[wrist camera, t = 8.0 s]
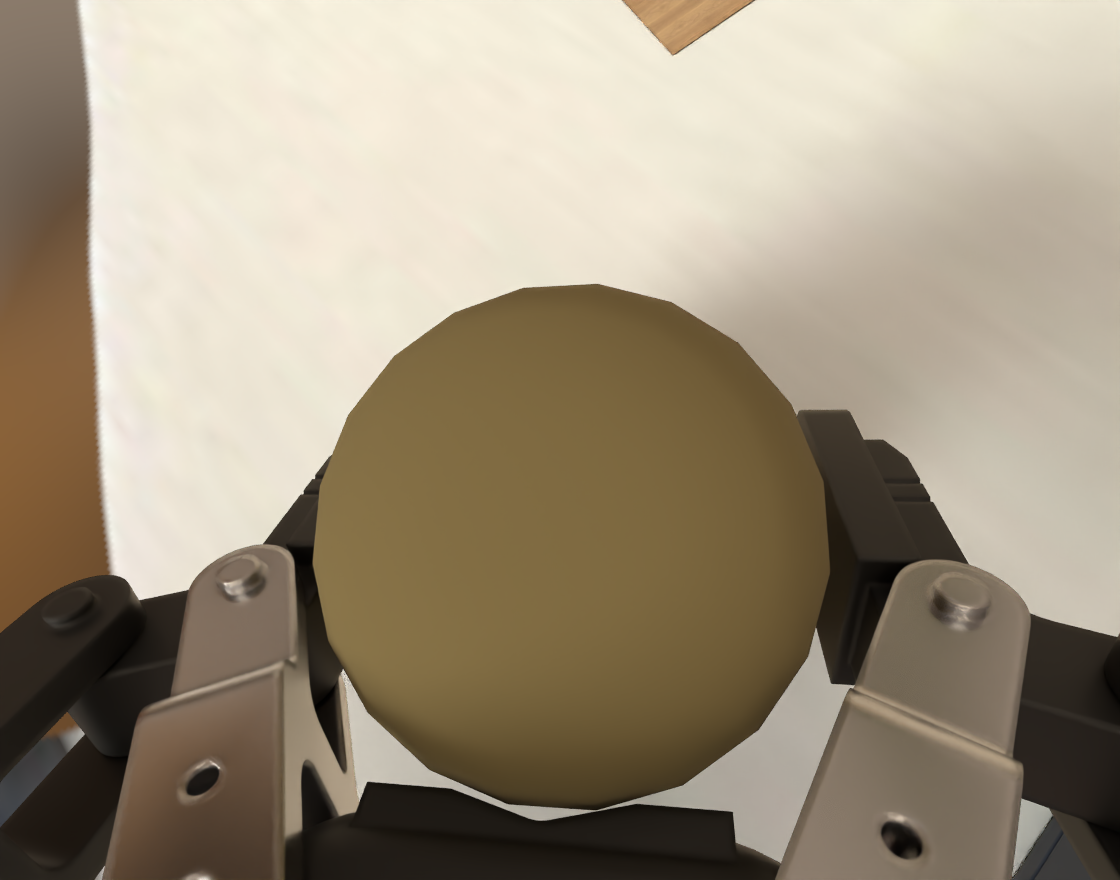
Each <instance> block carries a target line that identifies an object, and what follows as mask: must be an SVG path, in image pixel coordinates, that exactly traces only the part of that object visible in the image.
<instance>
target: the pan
mask: <svg viewBox="0 0 1120 880" xmlns="http://www.w3.org/2000/svg"><path fill="white" fill-rule="evenodd" d="M1013 880H1092V879H1091V877H1090V876H1089V874H1088V872H1087V871H1086V869H1085V867H1084V866H1083V864H1082V862H1081V861H1080V859H1079V857H1078V856H1077V854H1076V852H1075V851H1074V849H1073V847H1072V846H1071V844H1070V842H1069V841H1068V839H1067V837H1066V836H1065V834H1064V832H1063V831H1062V829H1061V827H1060V826H1059V824H1058V822H1057V821H1056V819H1055V817H1054V816H1053V818H1052V820H1051V821H1050V823H1049V824H1048V826H1047V827H1046V829H1045V830H1044V832H1043V833H1042V835H1041V837H1040V838H1039V840H1038V841H1037V843H1036V844H1035V846H1034V847H1033V849H1032V851H1031V852H1030V854H1029V855H1028V857H1027V858H1026V860H1025V861H1024V863H1023V865H1022V866H1021V868H1020V869H1019V871H1018V872H1017V874H1016V875H1015V877H1014V878H1013Z"/></svg>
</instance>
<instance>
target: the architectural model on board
mask: <svg viewBox="0 0 1120 880" xmlns="http://www.w3.org/2000/svg"><path fill="white" fill-rule="evenodd" d="M623 1H624V2H625V3H626V4H627V5H628V6H629V7H630V9H631V10H632V11H633V12H634V13H635V14H636V15H637V16H638V17H639V18H640V19H641V21H642V22H643V23H644V24H645V25H646V26H647V27H648V28H649V29H650V30H651V32H652V33H653V34H654V35H655V36H656V37H657V38H658V39H659V40H660V41H661V42H662V44H663V45H664V46H665V47H666V48H667V49H668V50H669V51H670V52H671V53H672V54H673V55H674V54H675V53H677V52H678V51H679V50H681V49H682V48H684V47H685V46H687V45H688V44H690V43H691V42H693V41H694V40H696V39H697V38H699V37H700V36H701V35H703V34H704V33H706V32H707V31H709V30H710V29H712V28H713V27H715V26H716V25H718V24H719V23H721V22H722V21H724V20H725V19H726V18H728V17H729V16H731V15H732V14H734V13H735V12H737V11H738V10H740V9H741V8H743V7H744V6H746V5H747V4H748V3H750V2H751V1H753V0H623Z"/></svg>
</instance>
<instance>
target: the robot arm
mask: <svg viewBox="0 0 1120 880" xmlns="http://www.w3.org/2000/svg"><path fill="white" fill-rule="evenodd" d="M797 419H798V422H799V424H800V426H801V429H802V431H803V434H804V436H805V438H806V441H807V443H808V446H809V448H810V450H811V453H812V455H813V457H814V460H815V462H816V465H817V467H818V469H819V472H820V474H821V477H822V479H823V481H824V493H825V506H826V520H827V533H828V547H829V560H830V575H829V579H828V582H827V586H826V590H825V594H824V598H823V601H822V605H821V609H820V613H819V617H818V621H817V624H816V628H817V632H818V636H819V639H820V643H821V647H822V651H823V655H824V658H825V662H826V666H827V670H828V674H829V678H830V681H831V684H845V685H855V686H854V688H853V689H852V688H850V689H849V690H848V692H847V694H846V697H845V699H844V701H843V704H842V706H841V709H840V711H839V714H838V717H837V719H836V722H835V724H834V727H833V730H832V732H831V735H830V737H829V740H828V743H827V745H826V748H825V750H824V753H823V756H822V758H821V761H820V763H819V766H818V769H817V771H816V774H815V776H814V779H813V782H812V784H811V787H810V789H809V792H808V795H807V797H806V800H805V802H804V805H803V808H802V810H801V813H800V815H799V818H798V821H797V823H796V826H795V828H794V831H793V834H792V836H791V839H790V841H789V844H788V847H787V849H786V852H785V854H784V857H783V860H782V862H781V864H780V863H779V862H777V861H775V860H773V859H771V858H769V857H767V856H765V855H763V854H762V853H760V852H758V851H756V850H754V849H751V848H748V847H746V846H743V845H740V844H738V843H736V842H735V831H734V820H733V812H729V811H717V810H704V809H692V808H680V807H668V806H656V805H643V804H634V805H629V806H623V807H618V808H612V809H607V810H602V811H596V812H591V813H585V814H580V815H575V816H569V817H564V818H558V819H553V820H547V821H536V820H532V819H528V818H526V817H523V816H520V815H518V814H515V813H513V812H510V811H508V810H505V809H502V808H500V807H497V806H495V805H492V804H489V803H487V802H484V801H482V800H479V799H476V798H474V797H471V796H469V795H466V794H464V793H461V792H458V791H456V790H453V789H448V788H436V787H424V786H412V785H399V784H387V783H375V782H367V784H366V787H365V789H364V792H363V794H362V797H361V800H360V802H359V799H358V794H357V788H356V780H355V771H354V761H353V752H352V743H351V734H350V724H349V715H348V706H347V697H346V688H345V684H344V681H343V678H342V676H341V672H342V670H343V667H342V665H341V663H340V661H339V660H338V658H337V656H336V654H335V652H334V651H333V649H332V647H331V645H330V643H329V641H328V637H327V632H326V627H325V622H324V617H323V612H322V607H321V602H320V597H319V592H318V587H317V582H316V577H315V572H314V567H313V554H314V543H315V533H316V523H317V512H318V502H319V491H320V485H321V482H322V480H323V477H324V475H325V472H326V470H327V467H328V465H329V462H330V460H331V457H332V455H331V456H330V457H329V458H328V459H327V461H326V462H325V463H324V465H323V466H322V467H321V468H320V470H319V471H318V472H317V474H316V475H315V479H312V480H311V482H310V483H309V484H308V486H307V487H306V488H305V490H304V494H303V495H300V496H299V497H298V499H297V500H296V501H295V503H294V504H293V505H292V507H291V508H290V509H289V511H288V512H287V513H286V515H285V516H284V517H283V518H282V520H281V521H280V522H279V524H278V525H277V526H276V528H275V529H274V530H273V532H272V533H271V534H270V536H269V537H268V538H267V540H266V541H265V542H264V543H263V545H254V546H249V547H245V548H242V549H239V550H236V551H233V552H231V553H229V554H226V555H225V556H223V557H221V558H219V559H217V560H216V561H214V562H213V563H211V564H210V565H209V566H207V567H206V568H205V569H204V570H203V571H202V572H201V573H200V574H199V575H198V576H197V577H196V578H195V580H194V581H193V583H192V584H191V586H190V588H189V590H187V591H182V592H177V593H172V594H168V595H163V596H158V597H153V598H149V599H144V600H138V598H137V596H136V595H135V593H134V591H133V590H132V588H131V586H130V585H129V583H128V582H127V581H126V580H125V579H123V578H121V577H119V576H114V575H101V576H95V577H90V578H86V579H82V580H79V581H76V582H73V583H71V584H68V585H66V586H64V587H62V588H60V589H58V590H56V591H54V592H52V593H51V594H49V595H48V596H46V597H44V598H43V599H41V600H40V601H39V602H37V603H36V604H35V605H33V606H32V607H31V608H30V609H29V610H27V611H26V612H25V613H24V614H23V615H21V616H20V617H19V618H18V619H17V620H15V621H14V622H13V623H12V624H11V625H9V626H8V627H7V628H6V629H5V630H3V631H2V632H1V633H0V782H1V781H2V779H3V778H4V777H5V776H6V775H7V774H8V773H9V772H10V770H11V769H12V768H13V767H14V766H15V765H16V764H17V763H18V762H19V761H20V760H21V759H22V758H23V757H24V756H25V755H26V754H27V753H28V752H29V751H30V750H31V749H32V748H33V747H34V746H35V744H36V743H37V742H38V741H39V740H40V739H41V738H42V737H43V736H44V735H45V734H46V733H47V732H48V731H49V730H50V729H51V728H52V727H53V726H54V725H55V724H56V723H57V722H58V721H59V719H61V717H62V716H63V715H64V714H65V713H66V712H68V713H69V714H70V715H71V717H72V718H73V719H74V721H75V722H76V723H77V724H78V726H79V727H80V728H81V729H82V731H83V732H84V733H85V735H84V736H83V737H82V738H81V739H80V740H79V741H78V742H77V744H76V745H75V746H74V747H73V748H72V749H71V750H70V751H69V752H68V754H67V755H66V756H65V757H64V758H63V759H62V760H61V761H60V762H59V763H58V765H57V766H56V767H55V768H54V769H53V770H52V771H51V772H50V773H49V774H48V776H47V777H46V778H45V779H44V780H43V781H42V782H41V783H40V784H39V785H38V787H37V788H36V789H35V790H34V791H33V792H32V793H31V794H30V795H29V796H28V798H27V799H26V800H25V801H24V802H23V803H22V804H21V805H20V806H19V807H18V809H17V810H16V811H15V812H14V813H13V814H12V815H11V816H10V817H9V819H8V820H7V821H6V822H5V823H4V824H3V825H2V826H1V827H0V880H94V879H95V878H96V877H97V875H98V874H99V873H100V871H101V870H102V869H103V867H104V866H105V868H104V873H103V878H102V880H1011V879H1012V871H1013V863H1014V854H1015V846H1016V838H1017V830H1018V822H1019V814H1020V805H1021V798H1022V799H1025V800H1028V801H1031V802H1034V803H1037V804H1039V805H1042V806H1045V807H1048V808H1049V809H1050V811H1051V812H1052V814H1053V816H1054V817H1055V819H1056V821H1057V822H1058V824H1059V826H1060V827H1061V829H1062V831H1063V832H1064V834H1065V836H1066V837H1067V839H1068V841H1069V842H1070V844H1071V846H1072V847H1073V849H1074V851H1075V852H1076V854H1077V856H1078V857H1079V859H1080V861H1081V862H1082V864H1083V866H1084V867H1085V869H1086V871H1087V872H1088V874H1089V876H1090V877H1091V879H1092V880H1120V634H1119V636H1118V637H1114V636H1110V635H1106V634H1102V633H1098V632H1094V631H1090V630H1086V629H1082V628H1078V627H1074V626H1070V625H1066V624H1062V623H1058V622H1054V621H1051V620H1047V619H1044V618H1041V617H1038V616H1035V615H1033V614H1030V613H1029V610H1028V608H1027V606H1026V604H1025V602H1024V601H1023V599H1022V598H1021V597H1020V596H1019V595H1018V593H1017V592H1016V591H1014V590H1013V589H1012V588H1011V587H1010V586H1009V585H1008V584H1006V583H1005V582H1003V581H1002V580H1001V579H999V578H997V577H996V576H994V575H992V574H990V573H988V572H986V571H984V570H982V569H980V568H977V567H974V566H971V565H969V564H968V562H967V560H966V559H965V557H964V555H963V553H962V552H961V550H960V548H959V546H958V545H957V543H956V541H955V539H954V538H953V536H952V534H951V532H950V531H949V529H948V527H947V526H946V524H945V522H944V520H943V519H942V517H941V515H940V513H939V512H938V510H937V508H936V506H935V505H934V503H933V502H930V496H929V494H928V492H927V491H926V489H925V487H924V485H923V484H920V479H919V477H918V475H917V473H916V472H915V470H914V468H913V466H912V465H911V463H910V461H909V459H908V458H907V457H906V456H904V455H903V454H902V453H900V452H899V451H898V450H896V449H895V448H894V447H892V446H891V445H890V444H888V443H887V442H886V441H884V440H864V439H863V437H862V435H861V433H860V431H859V429H858V427H857V425H856V423H855V421H854V419H853V417H852V415H851V413H850V412H849V411H848V410H800V411H799V412H798V414H797Z"/></svg>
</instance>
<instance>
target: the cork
mask: <svg viewBox="0 0 1120 880" xmlns="http://www.w3.org/2000/svg"><path fill="white" fill-rule="evenodd" d="M313 567H314V572H315V577H316V582H317V587H318V592H319V597H320V602H321V607H322V612H323V617H324V622H325V627H326V632H327V637H328V641H329V643H330V645H331V647H332V649H333V651H334V652H335V654H336V656H337V658H338V660H339V661H340V663H341V665H342V667H343V669H344V670H345V672H346V674H347V676H348V678H349V680H350V681H351V683H352V685H353V687H354V689H355V690H356V692H357V694H358V696H359V698H360V699H361V701H362V703H363V705H364V707H365V709H366V710H367V712H368V713H369V714H370V715H371V716H372V717H373V718H374V719H375V720H376V721H377V722H378V723H379V724H381V725H382V726H383V727H384V728H385V729H386V730H387V731H388V732H389V733H390V734H391V735H392V736H393V737H395V738H396V739H397V740H398V741H399V742H400V743H401V744H402V745H403V746H404V747H405V748H406V749H408V750H409V751H410V752H411V753H412V754H413V755H414V756H415V757H416V758H417V759H418V760H419V761H420V762H422V763H423V764H424V765H425V766H426V767H427V768H428V769H429V770H431V771H433V772H436V773H438V774H440V775H443V776H445V777H447V778H449V779H452V780H454V781H456V782H459V783H461V784H463V785H465V786H468V787H470V788H472V789H474V790H477V791H479V792H481V793H484V794H486V795H488V796H490V797H493V798H495V799H497V800H500V801H502V802H504V803H506V804H511V805H526V806H540V807H555V808H570V809H584V810H599V809H603V808H606V807H609V806H613V805H616V804H620V803H623V802H627V801H630V800H634V799H637V798H641V797H644V796H647V795H651V794H654V793H658V792H661V791H665V790H668V789H672V788H675V787H679V786H682V785H684V784H685V783H687V782H688V781H689V780H691V779H692V778H693V777H695V776H696V775H697V774H699V773H700V772H702V771H703V770H704V769H706V768H707V767H708V766H710V765H711V764H712V763H714V762H715V761H717V760H718V759H719V758H721V757H722V756H723V755H725V754H726V753H728V752H729V751H730V750H732V749H733V748H734V747H736V746H737V745H738V744H740V743H741V742H743V741H744V740H745V739H747V738H748V737H749V736H751V735H752V734H753V733H755V732H756V731H758V730H759V728H760V727H761V726H762V724H763V723H764V721H765V720H766V718H767V717H768V715H769V714H770V712H771V711H772V709H773V708H774V706H775V705H776V703H777V702H778V700H779V699H780V697H781V696H782V694H783V693H784V691H785V690H786V689H787V687H788V686H789V684H790V683H791V681H792V680H793V678H794V677H795V675H796V674H797V672H798V671H799V669H800V668H801V666H802V665H803V663H804V662H805V660H806V659H807V657H808V655H809V651H810V647H811V643H812V640H813V636H814V632H815V628H816V624H817V621H818V617H819V613H820V609H821V605H822V601H823V598H824V594H825V590H826V586H827V582H828V579H829V575H830V560H829V547H828V533H827V520H826V506H825V493H824V481H823V479H822V477H821V474H820V472H819V469H818V467H817V465H816V462H815V460H814V457H813V455H812V453H811V450H810V448H809V446H808V443H807V441H806V438H805V436H804V434H803V431H802V429H801V426H800V424H799V422H798V419H797V417H796V414H795V412H794V410H793V407H792V405H791V403H790V402H789V401H788V400H787V399H786V398H785V396H784V395H783V394H782V393H781V392H780V391H779V389H778V388H777V387H776V386H775V385H774V384H773V383H772V381H771V380H770V379H769V378H768V377H767V376H766V374H765V373H764V372H763V371H762V370H761V369H760V368H759V366H758V365H757V364H756V363H755V362H754V361H753V359H752V358H751V357H750V356H749V355H748V354H747V353H746V351H745V350H744V349H743V348H742V347H741V346H740V344H739V343H738V342H736V341H734V340H733V339H731V338H729V337H728V336H726V335H724V334H723V333H721V332H720V331H718V330H716V329H715V328H713V327H711V326H710V325H708V324H706V323H705V322H703V321H701V320H700V319H698V318H696V317H695V316H693V315H692V314H690V313H688V312H687V311H685V310H683V309H682V308H680V307H678V306H677V305H675V304H673V303H672V302H669V301H665V300H660V299H656V298H652V297H648V296H644V295H640V294H636V293H632V292H628V291H624V290H620V289H616V288H612V287H608V286H604V285H600V284H588V285H569V286H551V287H533V288H522V289H519V290H516V291H514V292H511V293H508V294H505V295H502V296H500V297H497V298H494V299H491V300H488V301H486V302H483V303H480V304H477V305H474V306H472V307H469V308H466V309H463V310H461V311H458V312H455V313H453V314H452V315H450V316H449V317H448V318H446V319H445V320H443V321H442V322H441V323H439V324H438V325H437V326H435V327H434V328H432V329H431V330H430V331H428V332H427V333H425V334H424V335H423V336H421V337H420V338H419V339H417V340H416V341H414V342H413V343H412V344H410V345H409V346H408V347H406V348H405V349H403V350H402V351H401V352H399V353H398V354H397V355H395V356H394V357H393V358H392V360H391V361H390V362H389V364H388V365H387V366H386V367H385V369H384V370H383V371H382V372H381V374H380V375H379V376H378V378H377V379H376V380H375V381H374V383H373V384H372V385H371V387H370V388H369V389H368V390H367V392H366V393H365V394H364V396H363V397H362V398H361V399H360V401H359V402H358V403H357V405H356V406H355V407H354V408H353V410H352V411H351V412H350V414H349V415H348V417H347V420H346V422H345V425H344V427H343V430H342V432H341V435H340V437H339V440H338V442H337V445H336V447H335V450H334V452H333V455H332V457H331V460H330V462H329V465H328V467H327V470H326V472H325V475H324V477H323V480H322V482H321V485H320V491H319V502H318V512H317V523H316V533H315V543H314V554H313Z"/></svg>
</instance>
